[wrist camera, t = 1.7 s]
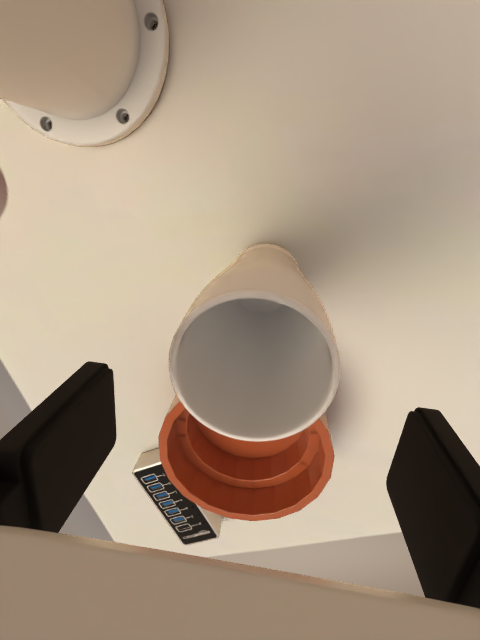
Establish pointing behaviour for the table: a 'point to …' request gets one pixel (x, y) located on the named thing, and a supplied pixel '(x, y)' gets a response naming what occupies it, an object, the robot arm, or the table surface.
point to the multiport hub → (175, 502)
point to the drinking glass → (256, 350)
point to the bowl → (244, 467)
